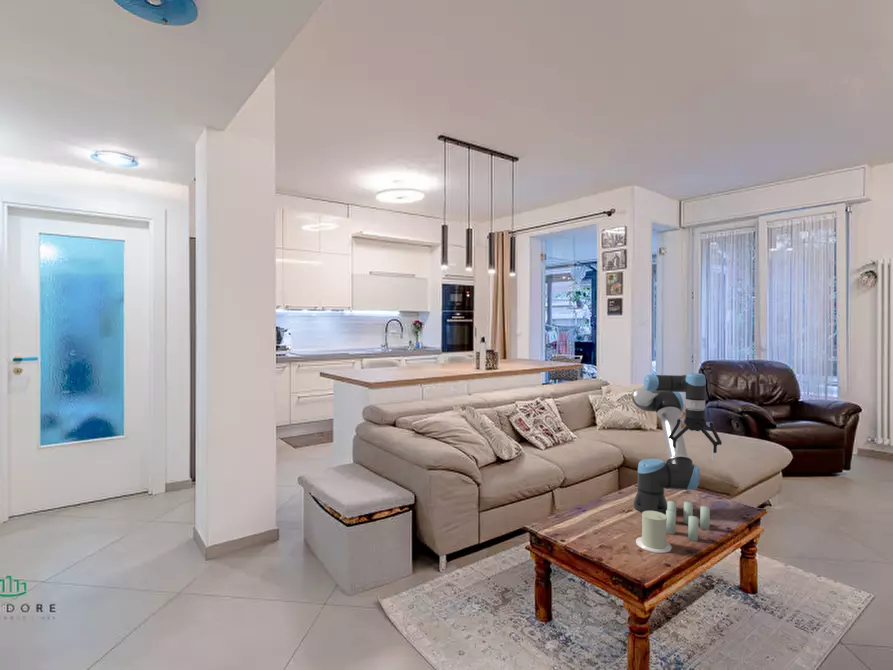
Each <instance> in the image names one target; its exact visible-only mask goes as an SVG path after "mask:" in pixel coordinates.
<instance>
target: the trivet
mask: <svg viewBox="0 0 893 670" xmlns="http://www.w3.org/2000/svg"><path fill="white" fill-rule="evenodd" d="M635 544H636V546H638V547H639V548H640V549H643V550H644V551H647V552H650V553H656V554H667V553H669V552H671V551H672V549H673V547H672V545H671V543H669V541H667V540H666V544H667V546H666V548H664V549H654V548H650V547H647V546H645V545H644V544H643V543H642V536H639V537H637V538H636V539H635Z"/></svg>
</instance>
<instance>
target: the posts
mask: <svg viewBox="0 0 893 670" xmlns="http://www.w3.org/2000/svg"><path fill="white" fill-rule="evenodd" d="M666 502H667V510H666V514H665V515H666V516H667V525H666V534H668V535H675V534H676V524H677V502H676V501H674V500H666ZM693 507H694V503H693V502H691V501H683V520H682V521H683V523H684V524H685V525H688V527H687V528H688V529H687V530H688V531H687V538H688V540H689V541H691V542H698V541H699V528H700V529H702V530H705V531H709V530H710V525H711V524H710V521H711V520H710V519H711V518H710V517H711V516H710V515H711V508H710V507H709V506H706V505H701V506H700V507H699V508H700V509H699V512H700V513H699V515H700V516H699V517H700V519H699V517H698V516H696V515H693V514H694V512H693V511H694V509H693Z"/></svg>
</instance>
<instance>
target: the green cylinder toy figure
mask: <svg viewBox="0 0 893 670" xmlns="http://www.w3.org/2000/svg"><path fill="white" fill-rule="evenodd" d="M666 525H667V516H666V514H663V513H661V512H657V511H644V512H641V529H642V530H641V537H642V543H643V544H644V545H645V546H647V547H650V548H654V549H664V548H666V546H667V544H666V541H667V533H666Z"/></svg>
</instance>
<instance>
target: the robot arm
mask: <svg viewBox="0 0 893 670" xmlns="http://www.w3.org/2000/svg"><path fill="white" fill-rule="evenodd" d="M706 380H707V379H706V375H705V374H704V373H698V372H697V373H696V372H688V373H686V374H681V375H675V374H674V375H671V374H670V375H668V374H667V375H666V374H646V375H645V376H644V379H643V386H641V387H640V388H637V389H636V390H635V391H634V392H633V394H632V402H633V404H634V405H635V406H636V407H637V408H638V409H640V410H642V411H644V412H655V413H656V416H657V417H658V418H659V419H660V421H661V428H662V432H663V437H664V442H665V447H666V452H667V459H666V461H664V460H663V459H660V458H653V457H652V458H645V459H644V458H643V459H642V460H640V461H639V462H638V467H637V492H636V494H635V497H634V499H633V509H635V510H636V511H639V512H641V513H642V512H644V511H657V512H661V513H663V514H665V515H666V510H667V500H666V496H665V489H666V490H667V489H668V490H680V491H681V490H683V491H695V490H697V488H698V486H699V484H700V475H701V473H700V467H699V466H698V465H697V464H694V463H693V460H692V458H690V457H689V456H688V453H687V447H686V443H685V439H684V434H685V432H687V431H688V430H689V431H692V432H693V431H695V432H700V431H701V433H703V434H704V435H705V437H706V438H707V439H708V440H709V442H711V451H710V453H711V455H710V457H711V458H710V459H711V462H714V454H717V452H718V450H717V448H718V446H721V445H722V444H723V442H722V440H721V438H720V436H719V434H718V432H717V431H716V428H715V426H714V421H711V420H710V421H706V410H705V409H706V386H707V385H706V384H707V381H706ZM681 393H685V406H684V400H683V397H682V395H681ZM684 407H685V408H686V409H685V410H684ZM683 410H684V411H685V413H684V414H685V418H684V419H681V418H680V416H681V414H682V412H683ZM683 423H684V425H685V426H684V427H683V428H682V424H683ZM706 425H707V427H708V428H710V430H711V432H712V434H713V436H714V437H712V436H711V434H710V433H709V432H708V431H707V430H706V429H705V427H706ZM714 438H715V439H714Z"/></svg>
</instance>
